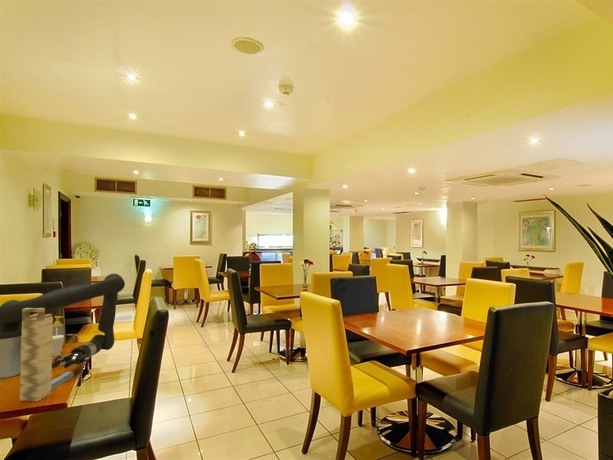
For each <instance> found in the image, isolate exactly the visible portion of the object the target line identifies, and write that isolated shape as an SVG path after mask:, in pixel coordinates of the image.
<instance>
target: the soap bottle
mask: <svg viewBox="0 0 613 460" xmlns="http://www.w3.org/2000/svg"><path fill="white" fill-rule="evenodd" d="M64 317H65V316H64V315H63V316H57V315H55V316H54V317H53V318H55V321H54V322H53V334H52V336H56V328H57V335H64V336H65V332H64V331H65V330H64V327H65V325H64V324H63V323H62V322H61V321H60V319H61V318H64ZM64 346H65V337H64V338H63V344H62V349H63V347H64Z"/></svg>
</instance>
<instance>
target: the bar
mask: <svg viewBox="0 0 613 460" xmlns="http://www.w3.org/2000/svg"><path fill="white" fill-rule="evenodd" d="M73 376H74V370H73V371H66V372H64V373H62V374H60V375H58V376H57V377H55V378H53V379H51V391H53V390H54V389H55V388H58V387H60V386H61V385H63V384H64V383H66V382H67V381H69V380H70V379H72V378H74V377H73ZM71 377H72V378H71ZM68 379H69V380H68ZM65 381H66V382H65ZM52 389H53V390H52Z"/></svg>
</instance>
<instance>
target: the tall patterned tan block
mask: <svg viewBox="0 0 613 460" xmlns="http://www.w3.org/2000/svg"><path fill="white" fill-rule="evenodd" d="M30 312H37V314H34V315H31V316H30ZM53 325H54V317H53V314H52V313H48V314H46V311H45V308H25V309H22V339H21V373H20V375H19V377H20V378H19V380H20V381H19V382H20V385H19V402H20V401H39V400H40V401H42V400H43V399H42V398H44V397H45V396H47V395H48V396H49V394H50V395H51V394H52V390H51V381H52V376H53V375H52V371H53V368H52V363H53V356H52V334H53ZM48 396H47V397H48ZM45 398H46V397H45ZM45 398H44V399H45ZM41 399H42V400H41ZM40 401H39V402H40Z"/></svg>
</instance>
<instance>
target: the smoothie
mask: <svg viewBox="0 0 613 460" xmlns="http://www.w3.org/2000/svg"><path fill="white" fill-rule="evenodd" d="M63 338H64V339H65V334H64V335H57V328H56V336H52V357H57V356H58V355H61V356H62V349H63V348H62V344H63Z"/></svg>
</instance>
